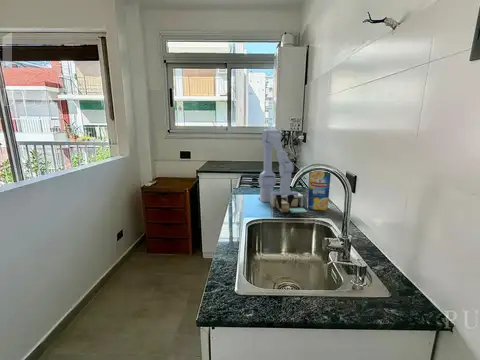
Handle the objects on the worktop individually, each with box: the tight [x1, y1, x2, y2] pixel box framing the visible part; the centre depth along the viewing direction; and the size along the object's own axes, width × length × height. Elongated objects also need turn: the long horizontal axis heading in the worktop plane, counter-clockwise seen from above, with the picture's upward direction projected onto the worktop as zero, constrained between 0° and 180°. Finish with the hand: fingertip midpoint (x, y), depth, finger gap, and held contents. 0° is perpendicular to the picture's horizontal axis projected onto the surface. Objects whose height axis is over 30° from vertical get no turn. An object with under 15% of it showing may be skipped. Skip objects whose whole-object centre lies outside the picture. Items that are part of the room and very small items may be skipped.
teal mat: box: [289, 207, 308, 214], centre depth 150 cm, size 7×9×1 cm
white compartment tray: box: [269, 192, 304, 208], centre depth 160 cm, size 7×18×6 cm, turn 98°
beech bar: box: [274, 198, 290, 213], centre depth 153 cm, size 12×4×4 cm, turn 13°
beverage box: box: [306, 171, 332, 211], centre depth 154 cm, size 7×11×22 cm, turn 81°
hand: (284, 208), depth 149 cm, fingers closed on beech bar, 4 cm apart
